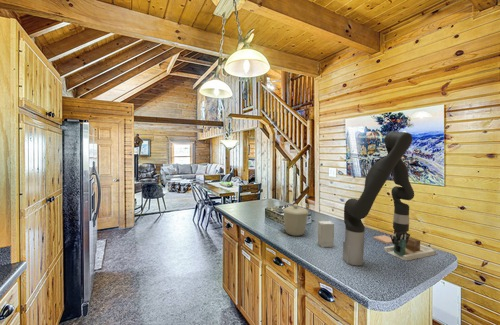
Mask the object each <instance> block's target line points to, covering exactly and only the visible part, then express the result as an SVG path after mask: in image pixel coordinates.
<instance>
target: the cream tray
mask: <svg viewBox="0 0 500 325" xmlns="http://www.w3.org/2000/svg"><path fill="white" fill-rule="evenodd" d="M393 248H394V244H392V245H388V246H384V247H383V251H384V252H385V253H388V254H390V255H391V256H394V257H396V258H398V259H400V260H403V261H405V262H408V261H413V260H417V258H418V259H422V258H425V257H431V256H435V255H437V250H436V249H434V248H432V247H428V246H426V245H423V244H421V243H420V250H422V252H417V253H412V254H408V255H403V256H401V255H398V254H396V253H394V251H393Z"/></svg>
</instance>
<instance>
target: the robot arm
mask: <svg viewBox="0 0 500 325" xmlns="http://www.w3.org/2000/svg"><path fill="white" fill-rule="evenodd" d="M412 143H413V136H412V134H411V133H410V132H405V131H389V132H388V133H386V135H385V137H384V146H385V149H386V153H387V154H386V155H385V156H383V158H380V159H379V160H377V161H376V162H375V163H374V164H372V166H371V167H370V168H369V171H367V173H366V175H365V180H364V188H363V190H362V193H361V195H360V197H359V198H358V199H357V198H349V199H348V200H346V202H345V203H344V207H343V222H344V225H345V226H344V227H345V229H344V230H345V234H344V241H343V244H342V259H343V261H344V262H345V263H346V264H347V265H352V266H363V265H364V257H365V256H364V252H365V250H364V249H365V231H366V230H365V229H366V228H365V227H366V226H365V225H364V223H363V221H362V220H363V219H365V218H366V217H367V216H368V215H369V213H370V211H371V210H372V207H373V204H374V203H375V200H376V198H377V196H378V195H379V194H380V192H381V190H382V188H383V187H384V185H385V183H386V182H387V181H388V179H389V177H390V175H391V174H392V179H393V183H394V184H395V186H393V187H392V188H391V197H392V201H393V204H394V205H393V206H394V207H393V208H394V210H393V211H394V213H393V220H392V229H393V230H394V232H393V234H390V236H389V237H390V238H391V240H392V245H394V244H395V251H396V252H400V243H401V242H402V239H405V240H406V244H407V242H408V240H409V238H411V234H410V233H407V232H409V231H410V230H409V229H410V205H409V204H407V203H405V202H403V201H402V200H405V201H411V200H413V199H414V197H415V191H414V188H413V187H412V184H411V182H410V179H409V169H408V167H407V165H406V164H405V162H404V161H403V159H402V158H403V156H404V155H405V154H406V152H407V151H408V150H409V148H410V147H411V145H412ZM396 185H397V186H396ZM398 239H399V240H398ZM397 241H398V242H397Z"/></svg>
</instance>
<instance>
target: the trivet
mask: <svg viewBox="0 0 500 325" xmlns="http://www.w3.org/2000/svg"><path fill="white" fill-rule="evenodd" d="M373 239H374V240H376V241H379V242H380V243H383V244H385V243H386V244H385V245H391V243H392V240H391V237H390V236H387V235H384V234H383V235H377V236H373ZM392 244H393V243H392Z"/></svg>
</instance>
